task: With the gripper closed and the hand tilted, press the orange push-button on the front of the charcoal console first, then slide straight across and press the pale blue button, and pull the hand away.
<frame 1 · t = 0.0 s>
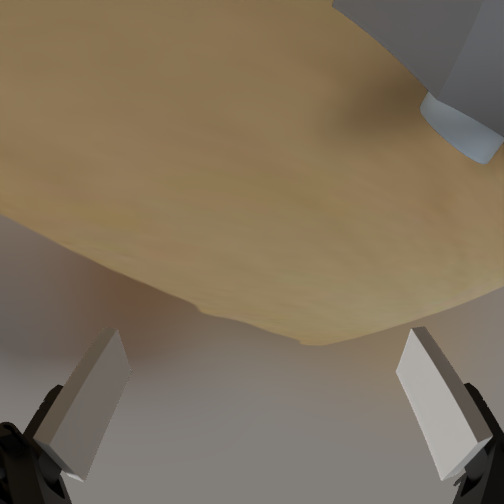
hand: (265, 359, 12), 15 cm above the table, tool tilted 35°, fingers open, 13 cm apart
pale blue button: (472, 105, 9), point 7 cm above the table, slide at 0.0 cm
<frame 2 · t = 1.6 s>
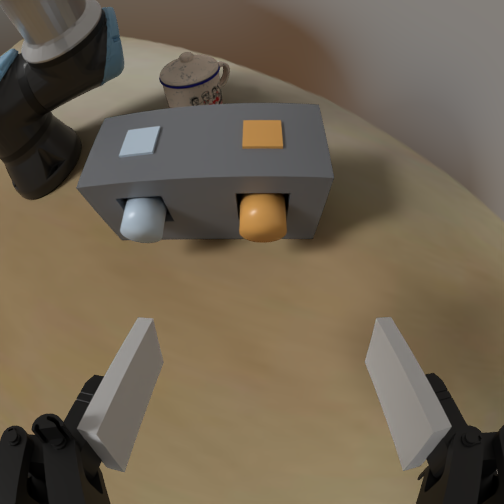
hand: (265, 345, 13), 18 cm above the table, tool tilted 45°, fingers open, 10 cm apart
teacup with lid: (204, 108, 45), on the table
pale blue button: (143, 218, 29), point 7 cm above the table, slide at 0.0 cm
orange button: (262, 216, 28), point 7 cm above the table, slide at 0.0 cm
button console: (214, 203, 37), on the table
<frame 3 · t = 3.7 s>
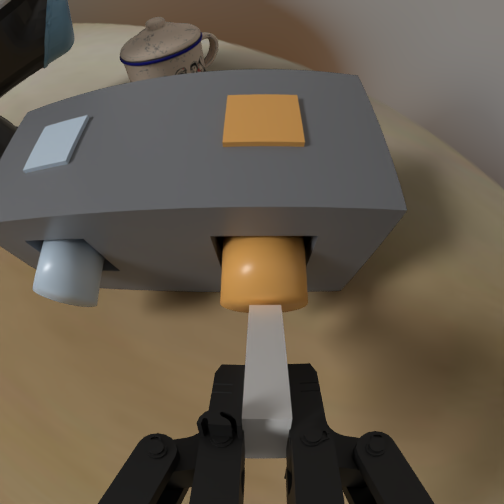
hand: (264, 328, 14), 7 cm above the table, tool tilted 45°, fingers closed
teacup with lid: (184, 95, 32), on the table
pale blue button: (69, 270, 16), point 7 cm above the table, slide at 0.0 cm
orange button: (264, 272, 15), point 7 cm above the table, slide at 0.1 cm, touching gripper
button console: (190, 233, 24), on the table
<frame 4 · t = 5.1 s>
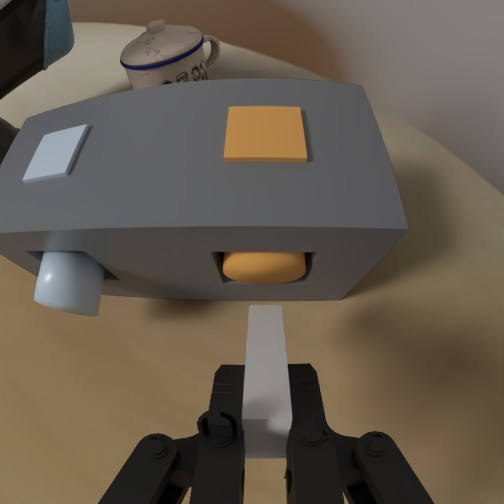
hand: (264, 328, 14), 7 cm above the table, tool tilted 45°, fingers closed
teacup with lid: (185, 98, 32), on the table
pale blue button: (70, 280, 16), point 7 cm above the table, slide at 0.0 cm
orange button: (264, 242, 16), point 7 cm above the table, slide at 2.6 cm
button console: (191, 240, 24), on the table
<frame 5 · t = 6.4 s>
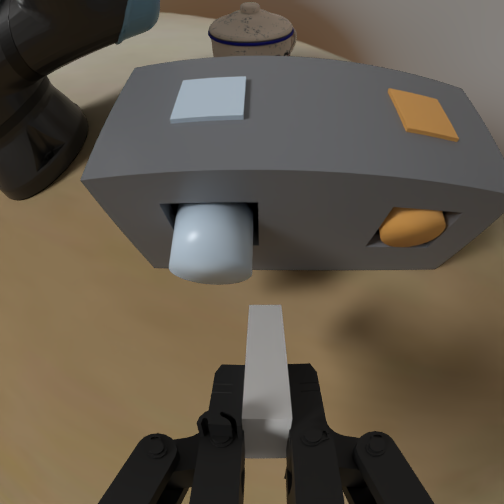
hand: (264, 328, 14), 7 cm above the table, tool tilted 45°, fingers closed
teacup with lid: (261, 83, 33), on the table
pale blue button: (212, 241, 16), point 7 cm above the table, slide at 0.0 cm
orange button: (407, 207, 17), point 7 cm above the table, slide at 2.6 cm
button console: (301, 214, 25), on the table
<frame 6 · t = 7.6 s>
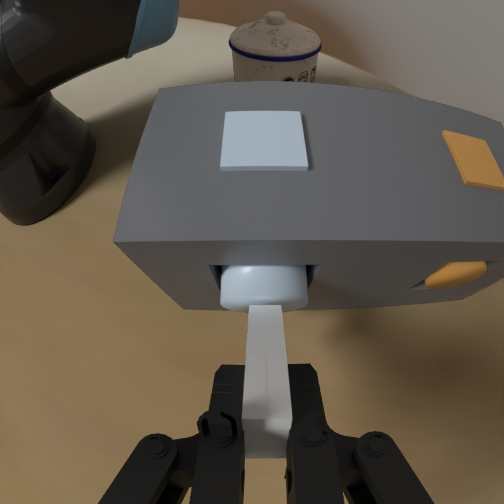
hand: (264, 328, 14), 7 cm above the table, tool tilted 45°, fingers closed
teacup with lid: (281, 97, 32), on the table
pale blue button: (263, 272, 15), point 7 cm above the table, slide at 1.5 cm, touching gripper
orange button: (451, 252, 16), point 7 cm above the table, slide at 2.6 cm
button console: (336, 248, 24), on the table
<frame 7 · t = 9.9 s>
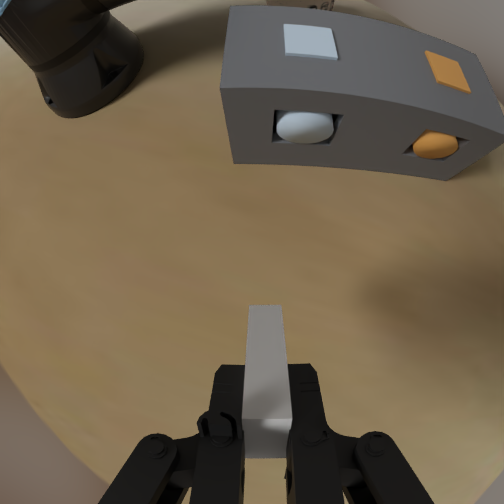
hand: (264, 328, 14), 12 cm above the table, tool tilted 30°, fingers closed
teacup with lid: (303, 19, 31), on the table
pale blue button: (304, 112, 21), point 7 cm above the table, slide at 2.6 cm
orange button: (432, 131, 21), point 7 cm above the table, slide at 2.6 cm
button console: (348, 127, 29), on the table
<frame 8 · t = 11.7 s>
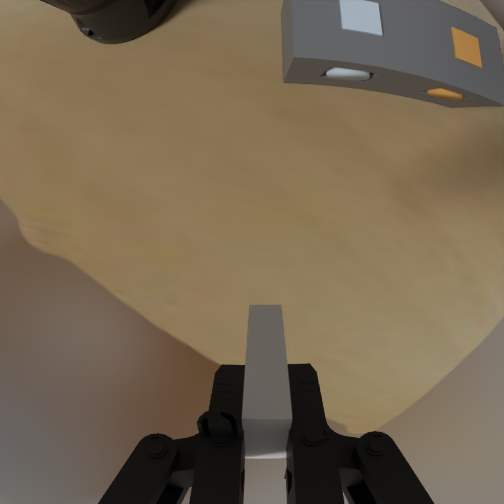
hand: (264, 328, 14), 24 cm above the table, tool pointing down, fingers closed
pale blue button: (347, 60, 24), point 7 cm above the table, slide at 2.6 cm
orange button: (444, 81, 23), point 7 cm above the table, slide at 2.6 cm
button console: (375, 56, 29), on the table
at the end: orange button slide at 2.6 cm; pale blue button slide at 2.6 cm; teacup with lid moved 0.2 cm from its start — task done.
